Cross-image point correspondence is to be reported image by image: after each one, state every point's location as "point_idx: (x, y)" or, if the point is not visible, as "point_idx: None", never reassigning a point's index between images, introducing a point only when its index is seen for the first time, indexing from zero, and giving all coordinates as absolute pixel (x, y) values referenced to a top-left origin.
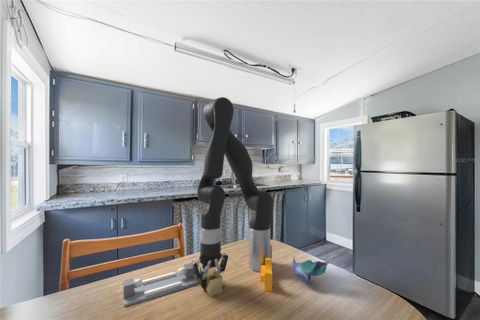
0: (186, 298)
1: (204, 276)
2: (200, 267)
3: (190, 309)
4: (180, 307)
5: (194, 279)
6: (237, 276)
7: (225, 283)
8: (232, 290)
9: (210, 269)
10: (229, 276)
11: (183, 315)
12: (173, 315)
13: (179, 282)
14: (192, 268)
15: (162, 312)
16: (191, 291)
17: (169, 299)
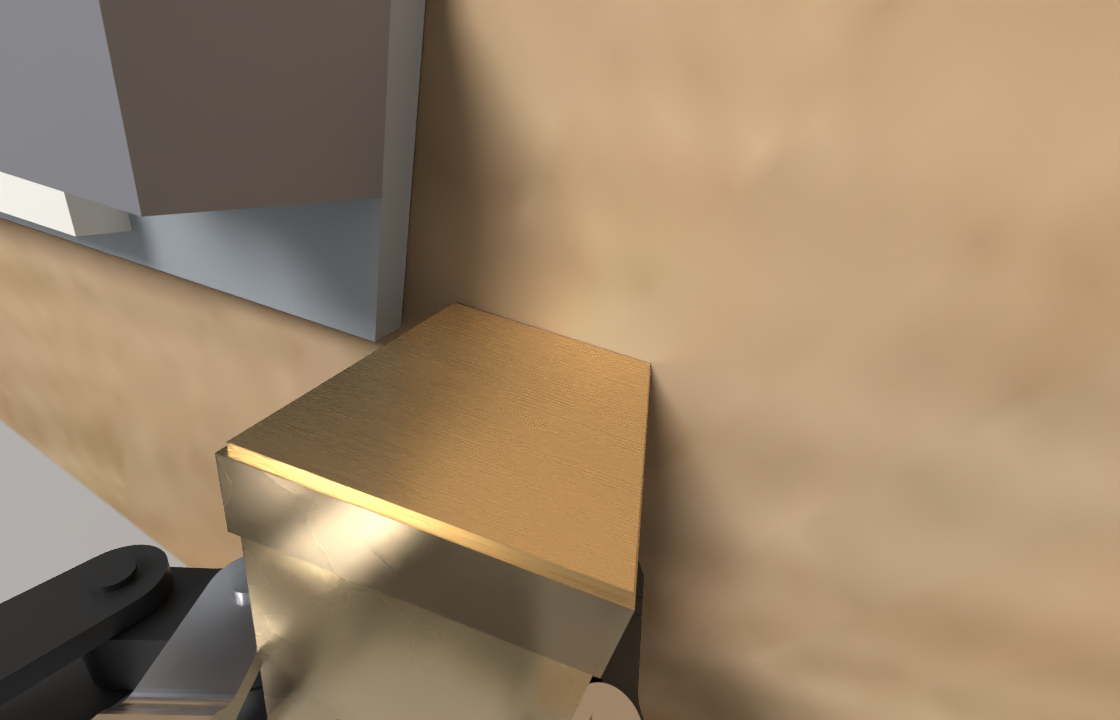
0: (216, 436)
1: (253, 693)
2: (233, 473)
3: (224, 553)
4: (156, 482)
5: (353, 249)
6: (1000, 643)
7: (705, 593)
8: (651, 695)
9: (443, 707)
10: (920, 555)
11: (171, 553)
12: (107, 503)
13: (52, 212)
14: (81, 193)
15: (27, 419)
16: (286, 387)
17: (61, 318)
